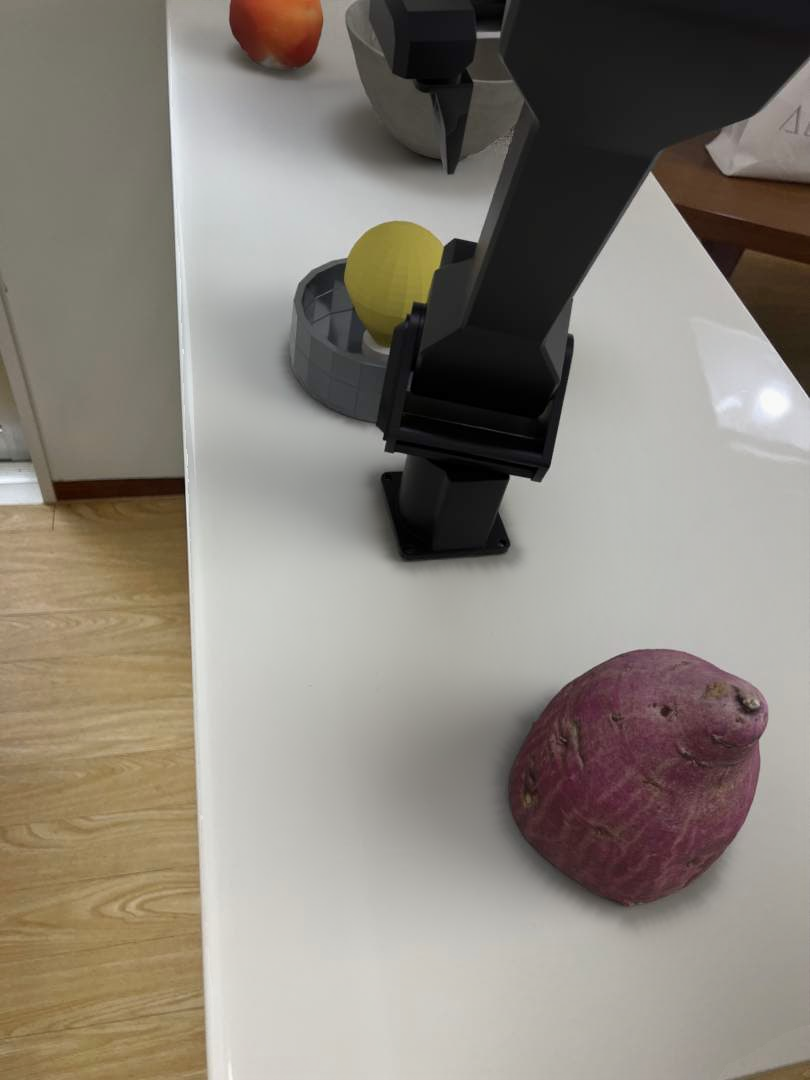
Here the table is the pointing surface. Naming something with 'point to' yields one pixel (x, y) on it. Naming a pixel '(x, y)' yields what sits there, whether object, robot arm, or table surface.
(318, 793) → the table surface
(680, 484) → the table surface
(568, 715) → the vegetable
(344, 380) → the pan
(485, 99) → the bowl
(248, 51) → the red apple
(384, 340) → the light bulb
